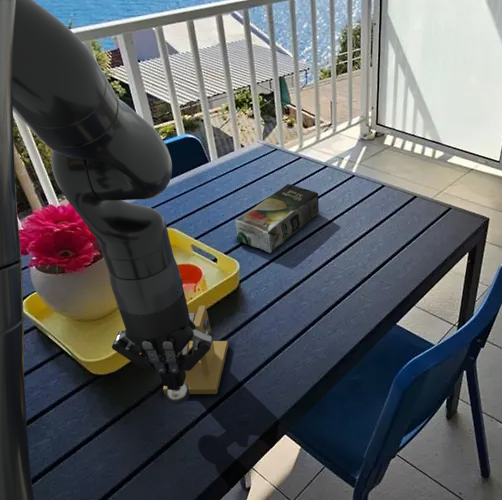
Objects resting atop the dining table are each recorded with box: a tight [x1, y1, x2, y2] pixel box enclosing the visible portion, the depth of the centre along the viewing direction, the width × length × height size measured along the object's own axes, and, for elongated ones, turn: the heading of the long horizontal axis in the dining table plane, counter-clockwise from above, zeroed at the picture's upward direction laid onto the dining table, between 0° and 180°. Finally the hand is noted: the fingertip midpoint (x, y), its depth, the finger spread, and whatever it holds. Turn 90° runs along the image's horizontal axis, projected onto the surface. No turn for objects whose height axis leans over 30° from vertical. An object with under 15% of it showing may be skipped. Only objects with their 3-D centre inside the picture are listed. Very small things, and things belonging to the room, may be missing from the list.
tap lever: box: [165, 312, 196, 405], centre depth 72 cm, size 13×3×3 cm, turn 0°
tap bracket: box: [162, 305, 229, 395], centre depth 77 cm, size 10×8×12 cm
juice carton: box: [235, 183, 320, 254], centre depth 112 cm, size 20×10×6 cm, turn 150°
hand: (176, 384), depth 69 cm, fingers closed
